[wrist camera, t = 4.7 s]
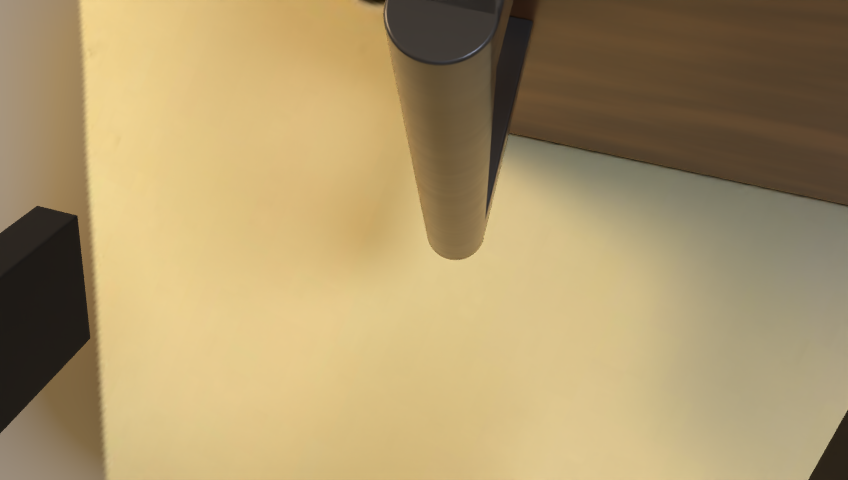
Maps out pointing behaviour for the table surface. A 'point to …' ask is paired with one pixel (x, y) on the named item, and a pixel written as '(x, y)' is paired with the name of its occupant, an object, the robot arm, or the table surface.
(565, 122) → the cupboard door
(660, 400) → the table surface
